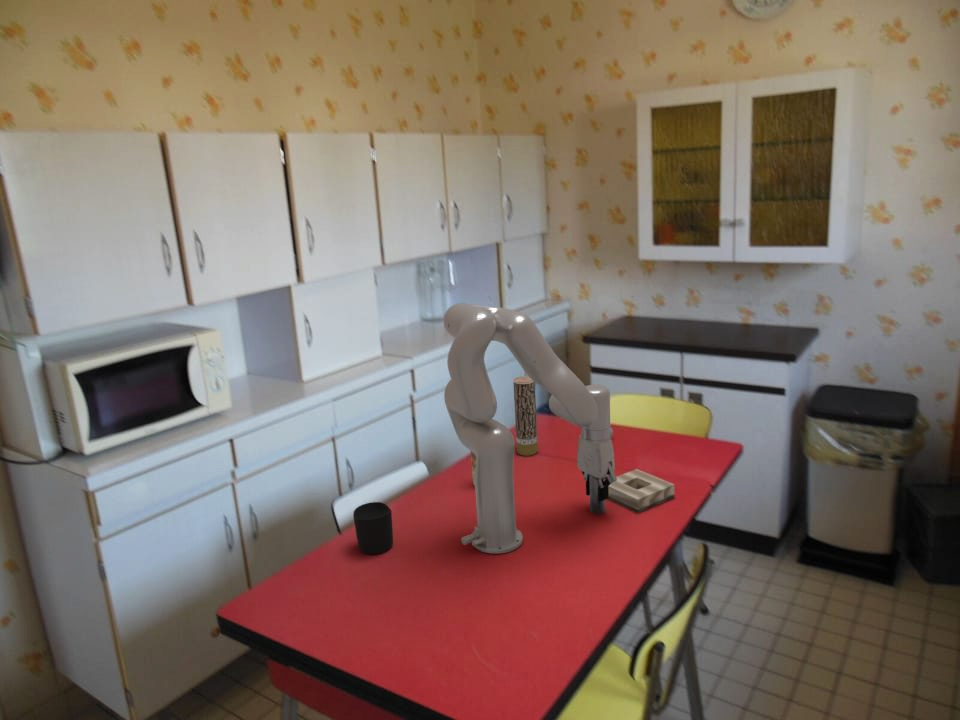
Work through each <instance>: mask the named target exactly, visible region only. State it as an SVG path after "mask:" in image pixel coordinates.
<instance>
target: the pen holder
mask: <svg viewBox="0 0 960 720" xmlns="http://www.w3.org/2000/svg"><path fill="white" fill-rule="evenodd" d="M352 516H353V521H354V527H355V534H356V540H357V544H358V549H359V551H360V552H361V553H362V554H364V553H365V554H364V555H369V554H370V556H373V555H374V556H376V555H381V554H383V553H386V552H388V551H389V550H390V549H391V548H392V546H393V545H394V533H393V514H392V509H391V508H390V506H388V505H387V504H386V503H384V502H381V501H373V502H367V503H364V504H361V505H358V506H357V507H356V508H355V509H354V510H353V515H352ZM375 554H376V555H375Z"/></svg>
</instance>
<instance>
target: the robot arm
mask: <svg viewBox="0 0 960 720" xmlns="http://www.w3.org/2000/svg"><path fill="white" fill-rule="evenodd" d="M443 326H444V328H445V329H444V330H446V332H447V333H448V334H449V335H450V336H452V337H453V338H454V339H453V341H452V343H451V346H450V348H449V351H448V354H447V363H446V364H447V370H448V374H449V377H450V380H449V381H448V382H447V384H446V385H445V388H444V398H443V399H444V404H445V406H446V407H445V408H446V410H447V413H448V415H449V417H450V420H451V423H452V425H453V429H454V432H455V434H456V436H457V438H458V440H459V441H460V443H461V444H462V445H463V446H464V447H466V449H468V450H469V451H470V452H471V451H472V452H473V453H474V454H476V457H477V463H476V467H475V473H474V480H475V485H474V488H475V489H474V490H475V502H476V503H475V505H476V519H477V525H476V526H474V527H473V529H474V531H472V532H471V534H467V535H466V536H463V537H462V536H461V543H462V545H464V546H465V545H469V544H471V545H472V547H474V548H475V549H477V551H480V552H482V553H487V554H491V555H492V554H495V555H496V554H505V553H510V552H513V551H514V550H516V549H518V548H520V546H521V545H522V544H523V542H524V538H523V537H524V535H523V533H522V531H520V530H519V529H517V522H516V506H515V505H516V504H515V502H516V501H515V485H514V484H515V483H514V457H515V451H516V442H515V438H514V436H513V433H512V432H511V431H510V429H509V428H508V427H507V426H506V425H504V424H502V423H501V422H500V421H497V419H494V417H495V415H496V413H497V410H498V409H497V408H498V402H497V397H496V394H495V391H494V389H493V385H492V384H491V379H490V377H489V374H488V371H487V367H486V364H485V354H486V351H487V349H488V347H489V345H490V344H491V342H493V341H495V342H499V343H501V344H503V345H505V347H507V348H508V350H509V351H510V353H511V354H512V355H513V357H514V358H515V360H516V361H517V362H518V364H519V365H520V367H521V368H522V370H523V371H524V372H525V374H526V375H527V377H530V378H531V379H532V380H533V381H534V382H535V384H536V385H539V386H540V387H541V388H542V389H544V390H546V392H549V394H551V395H550V397H549V401H548V407H549V409H550V411H551V412H552V413H553V414H554V415H555V416H557V417H558V418H559V419H562V420H564V421H567V422H568V423H571V424H572V425H574V426H576V427H580V431H581V432H580V434H579V438H578V441H577V450H576V451H577V453H576V455H577V456H576V462H577V464H576V465H577V468H578V469H579V471H581V473H582V475H583V480H584V481H585V495H586V496H590V488H589V475H592V476H594V477H596V478H598V479H599V485H600V487H598V500H599V501H600V502H601V501H603V500H605V501H606V500H609V499H608V498H609V490H608V486H609V485H610V484H611V483H612V482H614V481H617V478H616V477H617V475H616V474H615V469H616V466H615V465H616V464H615V453H614V445H613V440H612V437H611V434H610V428H611V393H610V389H609V388H608V387H607V386H605V385H602V384H590V385H585V384H584V382H583V381H581V379H580V378H579V377H578V376H577V375H576V374H575V373H574V372H573V371H572V370H571V369H570V368H569V367H568V366H567V365H566V363H564V362H563V360H561V359H560V358H559V357H558V356H557V354H556V353H555V352H554V350H553V348H552V347H551V346H550V344H549V343H548V342H547V339H545V337H544V336H543V334H542V333H541V331H540V330H539V328H538V327H537V325H536V323H534V321H533V319H532V318H530V316H528V315H527V314H526V313H523V312H519V311H517V310H513V309H510V308H506V307H496V306H489V305H480V304H473V303H466V302H460V303H455V304H452V305H451V306H449V307H448V308H447V310H446V311H445V313H444V315H443ZM610 438H611V439H610ZM603 478H605V481H604V482H603Z"/></svg>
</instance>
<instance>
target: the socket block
mask: <svg viewBox="0 0 960 720" xmlns="http://www.w3.org/2000/svg"><path fill="white" fill-rule="evenodd" d="M616 478H617V481H614V482H612V483H611V484H610V485H609V486H608V490H609V498H608V499H607V500H609V501H612V502H614V503H616V504H617V505H619V506H622V507H623V508H626V509H628V510H629V511H632V512H634V513H636V514H640V513H643V512H644V511H647V510H650V509H652V508H654V507H656V506H658V505H661V504H663V503H666V502H667V501H670V500H672V499H675V483H672V482H670V481H667V480H666V479H665V480H664V479H662V478H660V477H657V476H655V475H653V474H650V473H648V472H645V471H643V470H640V469H638V468H635V469H633V470H631V471H628V472H625V473H623V474H620V475H616Z"/></svg>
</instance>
